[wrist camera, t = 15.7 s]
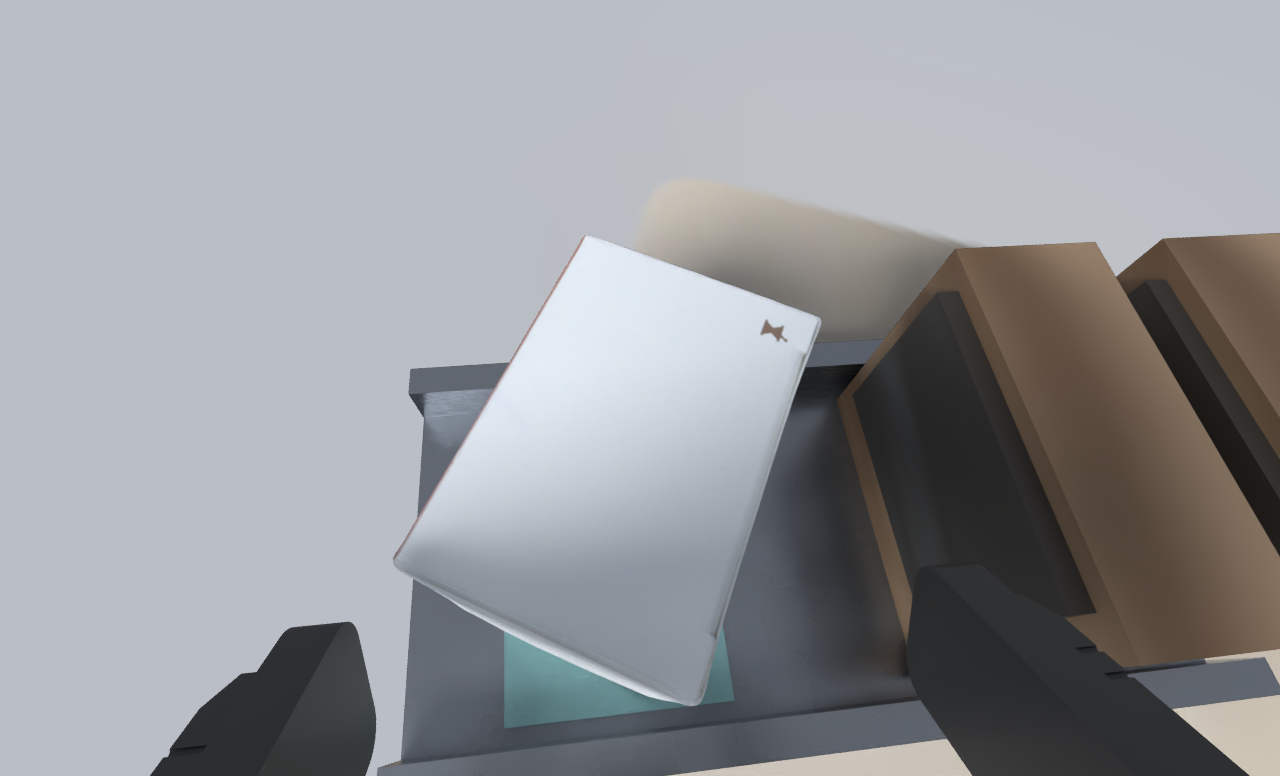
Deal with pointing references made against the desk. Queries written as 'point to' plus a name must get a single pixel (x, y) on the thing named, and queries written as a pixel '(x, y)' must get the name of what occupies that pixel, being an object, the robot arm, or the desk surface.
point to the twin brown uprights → (1088, 439)
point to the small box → (618, 470)
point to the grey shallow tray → (747, 646)
